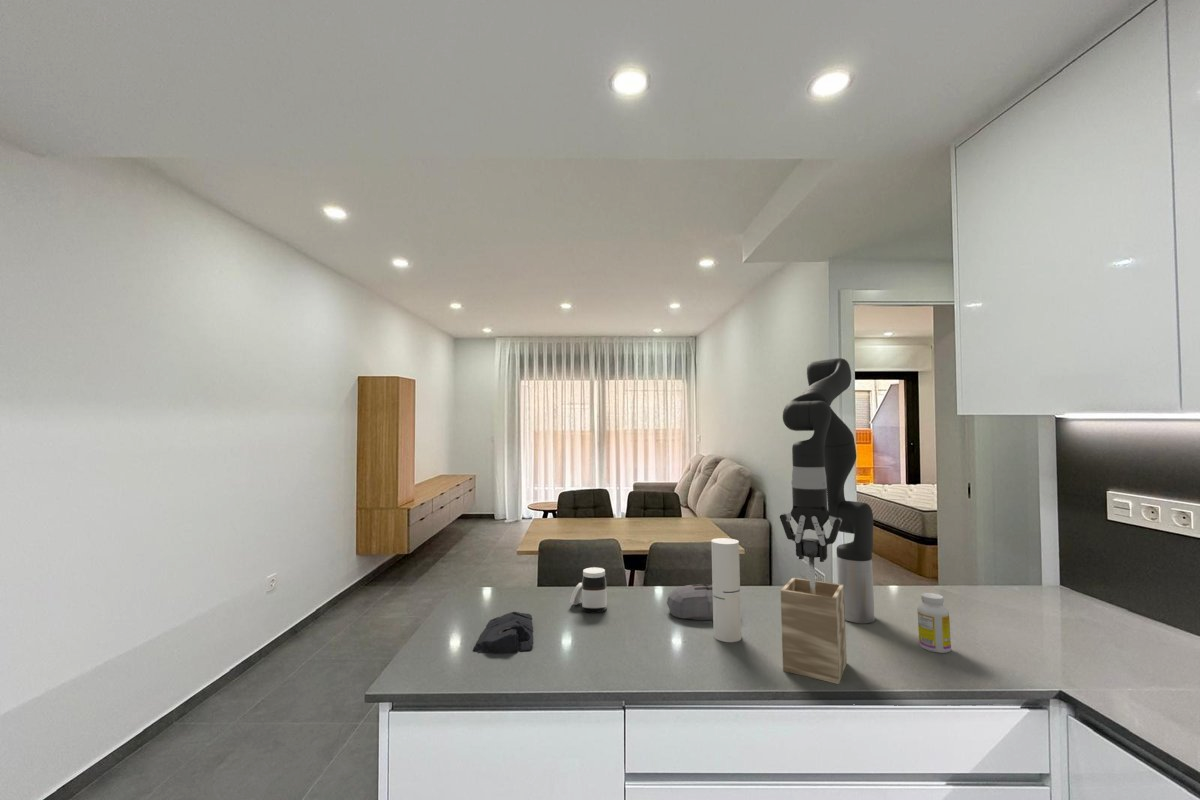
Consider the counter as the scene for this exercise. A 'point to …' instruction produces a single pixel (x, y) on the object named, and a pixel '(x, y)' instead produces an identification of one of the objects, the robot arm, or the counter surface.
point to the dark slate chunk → (506, 634)
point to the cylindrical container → (726, 589)
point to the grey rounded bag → (692, 602)
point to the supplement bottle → (933, 624)
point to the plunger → (811, 558)
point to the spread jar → (591, 590)
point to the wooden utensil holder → (813, 629)
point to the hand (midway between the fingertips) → (811, 559)
